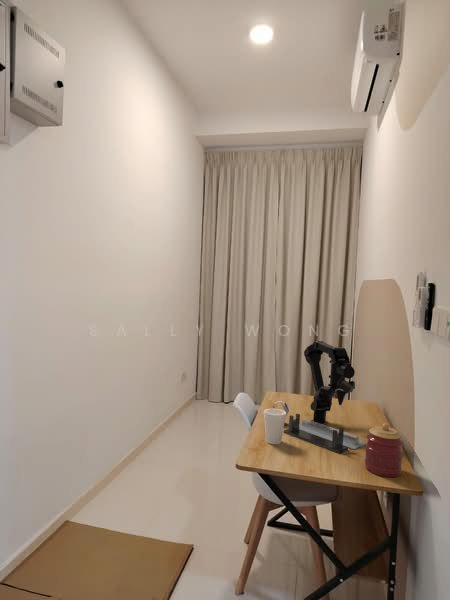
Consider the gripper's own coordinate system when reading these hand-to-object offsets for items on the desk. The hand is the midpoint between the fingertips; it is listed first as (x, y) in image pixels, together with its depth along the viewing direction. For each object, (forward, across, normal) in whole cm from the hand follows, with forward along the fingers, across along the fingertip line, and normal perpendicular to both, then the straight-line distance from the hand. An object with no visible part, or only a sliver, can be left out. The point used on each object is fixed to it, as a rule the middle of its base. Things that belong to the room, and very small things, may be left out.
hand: (334, 406), depth 191 cm
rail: (+12, -7, -2) cm, 14 cm away
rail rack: (+12, -18, -2) cm, 22 cm away
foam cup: (+12, -34, +8) cm, 37 cm away
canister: (+12, -21, -35) cm, 43 cm away
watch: (+12, -13, +22) cm, 28 cm away
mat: (+12, -7, -2) cm, 14 cm away
